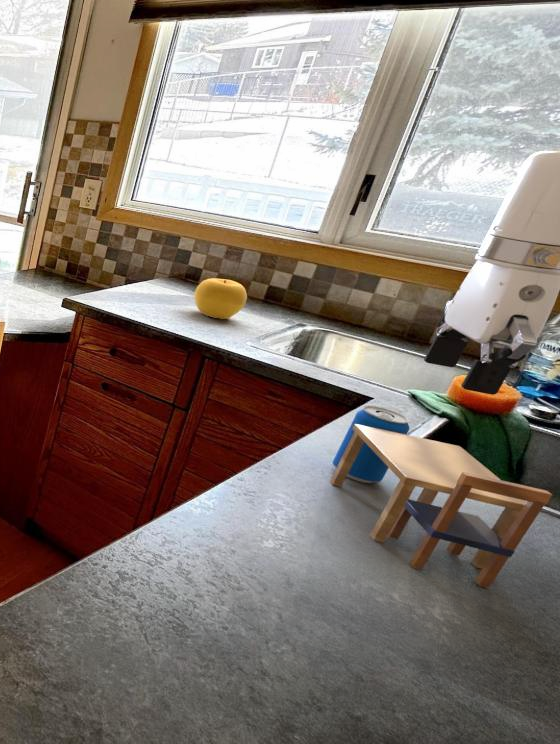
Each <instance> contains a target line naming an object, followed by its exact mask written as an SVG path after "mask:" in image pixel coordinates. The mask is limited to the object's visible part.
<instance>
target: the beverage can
mask: <svg viewBox="0 0 560 744" xmlns="http://www.w3.org/2000/svg"><path fill="white" fill-rule="evenodd" d="M409 423H410V419H409V418H408V417H406V416H405V415H403V414H401V413H399V412H397V411H394V410H392V409H389V408H384V407H380V406H375V405H364V406H363V407H362V409H360V410H358V411H357V412H356V414H355V416H354V418H353V419H352V422H351V424H350V426H349V428H348V429H347V432H346V434H345V436H344V438H343V439H342V442H341V444H340V446H339V447H338V450H337V452H336V454H335V456H334V458H333V460H332V465H333V466H334V467H335V469H336V468H337V466H338V464H339V462H340V460H341V458H342V456H343V454H344V452H345V450H346V448H347V446H348V444H349V442H350V440H351V438H352V436H353V434H354V432H355V431H354V430H353V429H352V428H353V426H354V424H358V425H363V426H368V427H372V428H377V429H382V430H386V431H391V432H396V433H400V434H405V435H408V433H409V432H410V425H409ZM389 469H390V468H389V467H388V466H387V465H386V464H385V463H384V462H383V461H382V460H381V459H380V458H379V457H378V456H377V455H376V453H375V452H374V451H373V450H372V449H371V448H370V447H369V446H368V445H367V444H366V443H365V442H364V443H363V445H362V447H361V449H360V451H359V453H358V455H357V457H356V459H355V461H354V463H353V465H352V467H351V469H350V471H349V473H348V475H347V476H346V478H349V479H351V480H353V481H357V482H361V483H364V484H365V483H366V484H374V483H379V482H380V483H381V482H382V481H383V479H384V478H385V476H386V474H387V472H388V471H389Z"/></svg>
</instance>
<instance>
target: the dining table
mask: <svg viewBox="0 0 560 744" xmlns="http://www.w3.org/2000/svg"><path fill="white" fill-rule="evenodd" d="M352 429H353V430H354V431H355V432H354V434H353V436H352V438H351V440H350V442H349V444H348V446H347V448H346V450H345V452H344V454H343V456H342V458H341V460H340V462H339V464H338V466H337V468H336V467H335V470H334V472H333V474H332V476H331V478H330V480H329V483H330V484H331V485H332V486H335V487H340V488H341V487H343V484H344V482H345V481H346V479H347V477H346V476H347V475H348V473H349V471H350V469H351V467H352V465H353V463H354V461H355V459H356V457H357V455H358V453H359V451H360V449H361V447H362V445H363V443H364V442H365V443H366V444H367V445H368V446H369V447H370V448H371V449H372V450H373V451H374V452H375V453H376V455H377V456H378V457H379V458H380V459H381V460H382V461H383V462H384V463H385V464H386V465H387V466H388V467H389V468H388V469H389V470H390V471H391V472H392V473H393V474H394V476H396V477H397V479H399V481H398V483H397V485H396V487H395V489H394V490H393V491H392V494H391V496H390V498H389V500H388V501H387V504H386V505H385V507H384V509H383V511H382V513H381V514H380V516H379V518H378V519H377V522H376V523H375V525H374V527H373V528H372V530H371V532H370V534H369V536H370V537H371V539H372V540H373V541H376V542H380V543H385V541H386V539H387V538H388V534H389V533H390V531H391V529H392V527H393V525H394V524H395V522H396V520H397V518H398V516H399V515H400V513H401V511H402V509H403V508H404V506H405V504H406V502H407V500H408V499H410V497H411V496H412V493H413V491H414V490H415V488H416V487H417V488H422V490H421V492H420V493H419V495H418V497H417V499H416V501H418V502H422V503H426V504H430V505H433V502H434V500H435V499H436V497H437V495H438V493H444V494H446V495H447V494H448V495H450V494H451V492H452V491H453V489H454V487H455V486H456V484H457V480H458V478H459V477H460V475H461V473H462V472H466V473H471V474H475V475H480V476H484V477H488V478H493V479H497V480H501V478H500V477H498V476H497V475H495V474H494V473H493V472H492V471H491V470H490V469H488V468H487V467H486V466H484V465H483V464H482V463H481V462H480V461H478V460H477V459H476V458H475V457H474V456H473V455H471V454H470V453H469V452H468V451H467V450H466V449H464V448H463V447H461V446H460V445H456V444H451V443H447V442H441V441H437V440H432V439H429V438H428V439H427V438H423V437H419V436H413V435H410V434H407V435H405V434H400V433H396V432H391V431H386V430H382V429H377V428H372V427H368V426H363V425H358V424H354V426H353V428H352ZM465 499H469V500H472V501H477V502H480V503H481V502H482V503H485V504H489V505H494V506H499V507H502V508H503V510H502V512H501V514H500V515H499V517H497V520H496V521H495V523H494V524H493V526H492V527H491V529H492V530H493V531H494V532H495V533H496V534H497V535H498V536H499V537H500V538H501V539H503V537H504V536H505V534H506V533H507V531H508V530H509V528H510V527H511V525H512V524H513V522H514V521H515V519H516V517H517V516H518V514H519V513H520V511H521V510H522V508H523V507H524V505H525V504H526V502H527V501H525V500H521V499H516V498H512V497H508V496H503V495H499V494H495V493H491V492H486V491H482V490H478V489H473V488H471V490H470V492H469V493H468V495H467V497H466V498H465ZM491 555H492V552H488V551H485V550H481V549H478V550H477V551H476V553H475V554H474V556H473V558H472V559H471V561H470V563H472V565H473V566H474V567H475V568H478V569H481V570H482V569H483V567H484V565H485V564H486V562H487V561H488V559H489V558H490V556H491Z"/></svg>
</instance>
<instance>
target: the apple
mask: <svg viewBox="0 0 560 744" xmlns="http://www.w3.org/2000/svg"><path fill="white" fill-rule="evenodd" d="M247 299H248V294H247V290H246V288H245V286H243V285H242V284H241V283H239V282H237V281H234V280H231V279H224V278H216V277H215V278H214V277H212V278H207V279H204V280H202V281H201V282H200V283H199V284H198V285H197V287H196V288H195V291H194V302H195V305H196V308H197V310H198V311H199V312H200V313H201V314H203V315H204V316H206V315H207V316H206V317H208V316H211V317H214V318H220V319H219V320H228V319H230V318H232V317H233V316H235V315H236V314H237V313H239V312H240V311H241V310H242V309H243V308H244V306H245V305H246V302H247ZM214 318H213V319H214Z"/></svg>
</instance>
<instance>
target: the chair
mask: <svg viewBox="0 0 560 744" xmlns="http://www.w3.org/2000/svg"><path fill="white" fill-rule="evenodd" d="M471 488H473V489H478V490H482V491H486V492H491V493H495V494H499V495H503V496H508V497H512V498H516V499H521V500H525V501H527V502H526V504H525V505H524V507H523V508H522V510H521V511H520V513H519V514H518V516H517V517H516V519H515V521H514V522H513V524H512V525H511V527H510V528H509V530H508V531H507V533H506V534H505V536H504V537H503V539H501V538H500V537H499V536H498V535H497V534H496V533H495V532H494V531H493V530H492V527H490V526H489V525H488V524H486V522H485V521H484V520H483V519H481V518H480V516H478V515H476V514H470V513H467V512H462V511H459V510H460V508H461V507H462V505H463V504H464V502H465V500H466V499H467V498H466V497H467V495H468V493H469V492H470V490H471ZM552 496H553V494H552V493H551V492H549V491H548V490H545V489H541V488H537V487H532V486H527V485H524V484H519V483H515V482H510V481H505V480H501V479H500V480H497V479H493V478H488V477H484V476H480V475H475V474H471V473H466V472H462V473H461V475H460V477H459V478H458V480H457V484H456V486H455V487H454V489H453V491H452V492H451V494H449V496H448V497H447V500H446V501H445V503H444V504H443V506H439V505H434V504H431V505H430V504H426V503H422V502H418V501H417V500H414V499H410V498H409V499H408V500H407V502H406V504H405V506H404V508H403V509H402V511H401V513H400V515H399V516H398V518H397V520H396V522H395V524H394V525H393V527H392V529H391V531H390V533H389V534H388V536H387V538H390V539H394V540H396V541H397V540H399V538H400V537H401V535H402V533H403V531H404V529H405V528H406V527H407V525H408V523H409V520H410V519H411V517H412V518H413V519H414V520H415V521H416V522H417V524H419V525H420V527H421V528H422V529H423V530H424V531H425V532H426V534H425V536H424V537H423V539H422V541H421V542H420V544H419V545H418V547H417V549H416V551H415V553H414V554H413V556H412V557H411V559H410V561H409V565H410V566H411V567H412V568H414V569H418V570H420V571H421V570H423V568H424V567H425V566H426V564H427V562H428V560H429V558H430V557H431V555H432V554H433V552H434V550H435V549H436V547H437V546H438V544H439V542H440V540H443V541H446V542H450V543H449V545H448V546H447V548H446V551H447V552H448V553H449V554H450V555H454V556H458V557H460V555H461V554H462V552H463V550H465V547H470V548H473V549H478V550H479V549H481V550H485V551H488V552H492V555H491V556H490V558H489V559H488V561H487V562H486V564H485V565H484V567H483V569H481V570H480V572H479V573H478V575H477V576H476V577H475V579H474V582H475V583H476V584H477V585H478V586H479V587H483V588H486V589H489V588H490V587H491V585H492V584H493V583H494V581H495V579H496V578H497V577H498V575H499V573H500V572H501V570H502V568H504V566H505V564H506V563H507V561H508V560H509V558H512V556H513V555H514V553H515V550H516V549H517V547H518V546H519V545H520V542H521V541H522V539H524V537H525V536H526V534H527V533H528V530H529V529H530V528H531V526H532V525H533V523H534V522H535V520H536V519H537V517H538V515H539V514H540V512H542V509H543V508H544V506H547V504H548V502H549V501H550V500H551V498H552Z"/></svg>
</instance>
